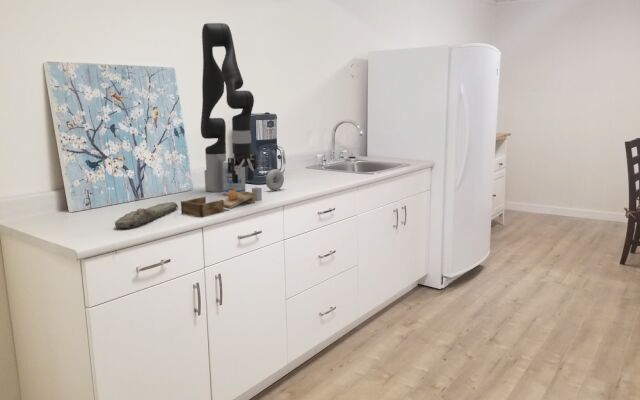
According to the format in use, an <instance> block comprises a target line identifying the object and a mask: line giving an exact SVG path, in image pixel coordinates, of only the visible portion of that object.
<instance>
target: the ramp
mask: <svg viewBox="0 0 640 400" xmlns="http://www.w3.org/2000/svg"><path fill="white" fill-rule="evenodd" d="M237 194H238V196H237V198H236V199H234V200H231V199H229V198H228V197H227V198H226V199H223V200H224V209H232V208H234V207H236V206H238V205H240V204H241V203H248V204H255V203H256V200H255V195H254V193H252V191H250V192H249V191H245V192H244V191H241V192H239V193H237Z"/></svg>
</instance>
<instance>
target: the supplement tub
mask: <svg viewBox="0 0 640 400" xmlns="http://www.w3.org/2000/svg"><path fill="white" fill-rule="evenodd" d="M237 174H238V183H233V181H232V174H231V173H228V160H226V161H224V162H223V181H224V191H223V194H224V195H225V196H227V194H228V192H229V191H230V190H235V191H236V192H237V193H239V192H241V191H244V192H246V167H242V168H241V169H240V170H239V171H238V173H237Z"/></svg>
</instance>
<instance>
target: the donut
mask: <svg viewBox="0 0 640 400" xmlns="http://www.w3.org/2000/svg"><path fill="white" fill-rule="evenodd" d="M274 178H276V181H275V182H274ZM284 181H285V177H284V174H283V172H282V171H281V170H280V169H275V168H274V169H271V170H270V171H268V173H267V174H266V177H265V185H266V188H268V189H269V190H271V191H278V190H280V189H281V188H282V186H283V185H284Z"/></svg>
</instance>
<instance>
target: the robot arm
mask: <svg viewBox="0 0 640 400" xmlns="http://www.w3.org/2000/svg"><path fill="white" fill-rule="evenodd" d="M231 31H232V30H231V29H230V26H229V25H228V24H227V23H221V22H219V23H217V22H215V23H214V22H211V23H204V24H203V26H202V30H201V39H202V40H201V41H202V62H203V63H202V84H201V85H202V87H201V88H202V90H201V91H202V105H201V108H202V109H201V118H200V120H201V121H200V134H201V137H202V138H203V139H204V140H205V139H206V140H208V139H214V140H215V139H217V141H215V143H213V144H211V145H208V146H206V147H205V168H206V169H205V170H204V187H205V191H206V192H211V193H218V192H219V193H220V192H221V193H222V192H224V181H223V162H224V161H228V173H231V174H232V181H233V183H238V174H237V173H238V171H239V170H240V169H241V168H242V167H245V169H247V181H253V180H254V171H255V170H257V169H258V165H257V155H256V154H252V133H251V117H252V112H253V108H254V102H255V97H254V95H253V93H252V92H251V91H250V90H240V89H241V88H243V86H244V80H243V76H242V74H241V71H240V69H239V65H238V62H237V56H236V50H235V46H234V40H233V36H232V32H231ZM219 47H221V48H223V47H224V49H225V55H224V59H223V61H222V63H221V68H220V66H219V65H218V63H217V62H216V59H215V57H214V54H213V53H214V52H213V48H219ZM225 89H226V104H227V106H228V108H230V109H232V110H241V112H240V113H239V114H237V115H233V116H232V118H231V126H232V133H231V142H232V143H231V145H232V154H233V157H228V158H227V146H226V145H227V144H226V143H227V142H226V140H227V139H226V138H227V137H226V133H227V132H226V131H227V129H226V128H227V127H226V126H227V125H226V121H225V119H224V118H222V117H211V115H212V112H213V110H214V108H215V106H216V105H217V104H218V103H219V101H220V100H221V99H222V97H223V95H224V92H225Z"/></svg>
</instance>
